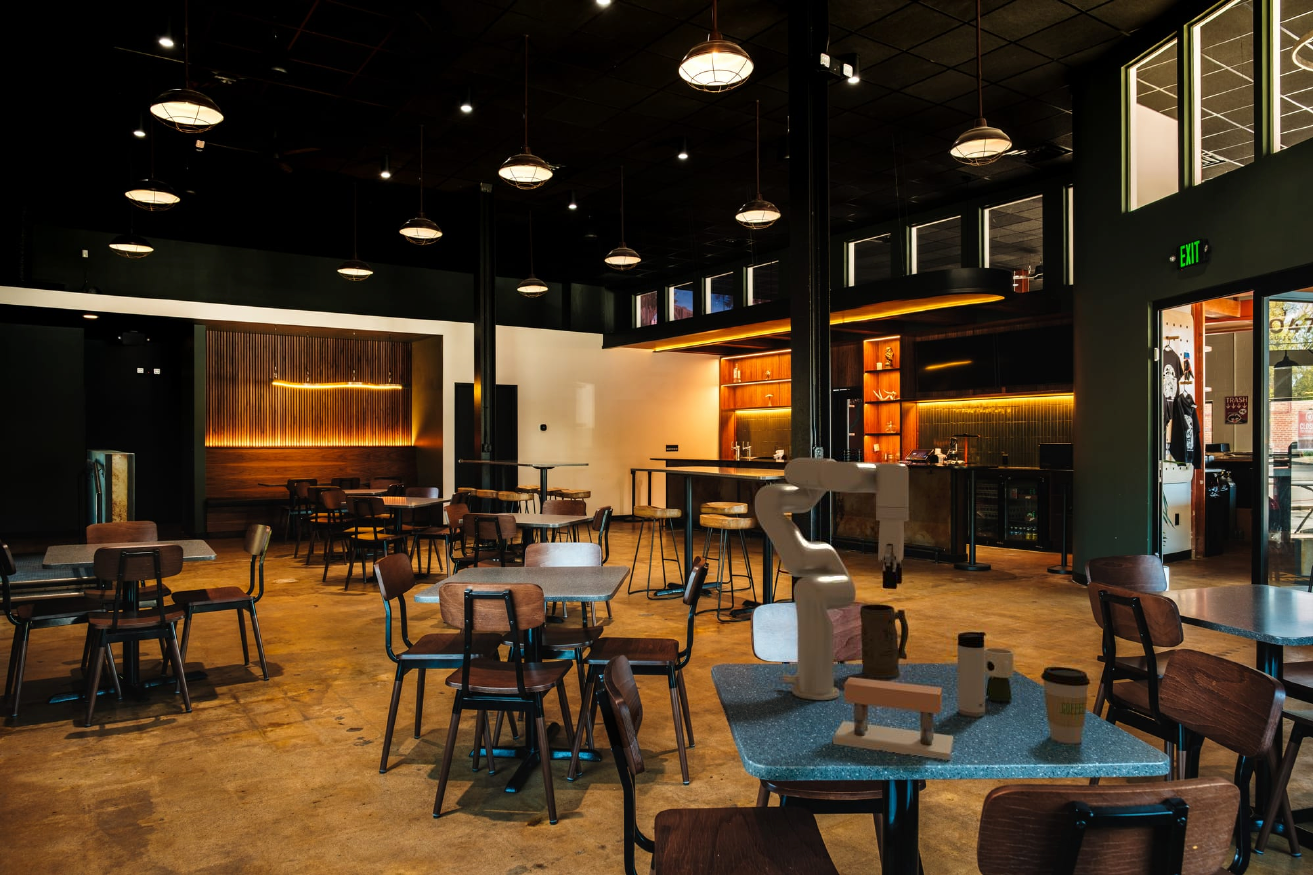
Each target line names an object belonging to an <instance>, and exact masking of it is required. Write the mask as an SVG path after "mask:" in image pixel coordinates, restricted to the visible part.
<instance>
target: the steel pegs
mask: <svg viewBox="0 0 1313 875" xmlns="http://www.w3.org/2000/svg"><path fill="white" fill-rule="evenodd" d="M853 705H854V706H853V711H854V712H853V723H854V734H855V735H857V736H865V731H868V725H869V705H865V704H858V703H853ZM919 714H920V715H919V716H920V717H919V719H920V720H919V721H920V730H919V731H920V743H921V744H922V745H926V746H930V745H932V740H934V732H935V731H934V721H935V718H934V714H935V713H929V712H921V711H919Z"/></svg>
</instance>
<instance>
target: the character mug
mask: <svg viewBox="0 0 1313 875" xmlns="http://www.w3.org/2000/svg"><path fill="white" fill-rule="evenodd" d="M984 650H985V675H987V676H988V680H987V686H986V690H985V698H987V699H988V700H990V701H992V702H993V701H994V702H1000V703H1003V701H1004V702H1005V701H1007V702H1008V701H1012V687H1011V681H1010V680H1009V678H1012V677H1013V676H1014V651H1013V650H1010V649H1007V648H1001V647H1000V648H999V647H987V648H986V647H985V648H984Z"/></svg>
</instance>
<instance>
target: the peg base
mask: <svg viewBox="0 0 1313 875" xmlns="http://www.w3.org/2000/svg"><path fill="white" fill-rule="evenodd" d="M832 738H833V739H832V744H833V745H839V746H846V747H853V748H860V749H865V748H866V749H867V750H872V751H873V750H874V751H879V750H883V751H882V752H885V751H887V752H886V753H892V752H895V753H894V754H899V753H900V754H901V755H906V754H911V755H910V756H913V755H921V756H926V757H935V758H942V759H950V760H951V758H950V757H952V753H953V752H952V751H953V746H954V735H948V734H940V733H934V740H932V745H930V746H926V745H922V744H921V743H920V730H912V729H903V728H896V727H890V726H889V727H888V726H881V725H873V724H868V731H865V736H857V735H855V734H854V721H842V723H841V724H840V725H839V727H838V729H837V730H836V732H835V734H834V735H833V737H832ZM866 749H865V750H866ZM951 752H952V753H951ZM926 757H925V758H926Z"/></svg>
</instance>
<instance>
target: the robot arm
mask: <svg viewBox="0 0 1313 875" xmlns="http://www.w3.org/2000/svg"><path fill="white" fill-rule="evenodd" d="M783 475H784V479H785V480H786V481H787V483H772V484H768V485H764V486H762V487H760V489H759V490H758V491H757V492H756V495H755V497H754V510H755V511H754V512H755V514H756V516H755V517H757V520H758V522H759V524H760V527H761V528H762V529H763V530H764V532H765V534H766V535H767V536H768V538H769V540H770V541H771V544H772V545H773V548H774V550H775V551H776V553H777V555H778V557H779V559H780V561H781V563H782V564H783V567H784V568H785V571H786V572H787V573H788V574H789V575H790V576H792V577H796V578H799V579H798V580H797V582H796V583H795V585H794V587H793V597H794V599H793V600H794V603H795V610H796V617H797V618H796V619H797V620H796V621H797V623H796V624H797V674H793V675H790V674H784V673H783V674H782V676H781V681H782V682H784V684H788V685H792V687H791V693H792V694H793V695H794V696H796V697H799V698H802V699H807V700H814V701H828V700H835V699H837V698H839V696H840V690H839V689H838V687H835V686H834V684H835V683H834V682H835V681H834V680H835V679H834V678H835V677H834V676H835V674H834V673H835V672H834V670H835V669H834V665H835V664H834V663H835V662H834V658H835V657H834V655H835V653H834V651H835V649H834V646H835V645H834V642H835V639H834V638H835V636H834V631H835V630H834V625H833V621H832V619H831V618H830V616H829V614H828V611H830V610H831V611H832V610H839V609H845V608H848V607H850V606H852V604H853V603H854V602H855V600H856V596H857V594H856V586H855V584H854V581H853V579H852V577H851V575H850V573H849V572H848V570H847V568H846V566H845V564H844V563H843V561H842V558H840V556H839V553H838V552H837V551H836V549H835V548H834V547H833V546H832V545H830V544H829V543H827V542H824V541H808V540H806V538H804V536H803V534H802V532H801V530H800V529H799V527H798V526H797V524H796V523H794V521H793V520H791V519H790V518H789V517H788V516H786V515H785V514H803V513H807V512H809V511H810V510H812V509H814V507H815V506H816V505H817V504H818V502H819V501H820V500H821V499H822V497H823V496H824V495H825V494H826V492H839V493H848V494H849V493H851V494H852V493H870V494H871V493H875V501H876V502H875V514H876V515H875V520H876V521H879V529H878V530H879V531H878V556H877V560H878V562H880V563H882V562H883V565H882V566H883V567H882V588H883V589H886V590H897V588H898V585H901V584H902V583H903V567H902V560H903V559H904V548H905V544H904V543H905V532H904V531H905V528H904V527H905V522H908V521H909V520H910V515H909V514H910V512H909V506H910V505H909V499H910V498H909V493H910V492H909V491H910V490H909V487H910V486H909V485H910V484H909V475H910V474H909V467H908V466H907V465H906V464H905V463H897V462H896V463H895V462H894V463H893V462H891V463H890V462H884V463H882V462H867V461H864V462H863V461H857V462H856V461H849V462H848V461H836V460H835V459H833V458H824V457H823V458H822V457H797V458H793V459H791V460H790V461H789V462H787V463H786V465H785V467H784V470H783Z"/></svg>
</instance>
